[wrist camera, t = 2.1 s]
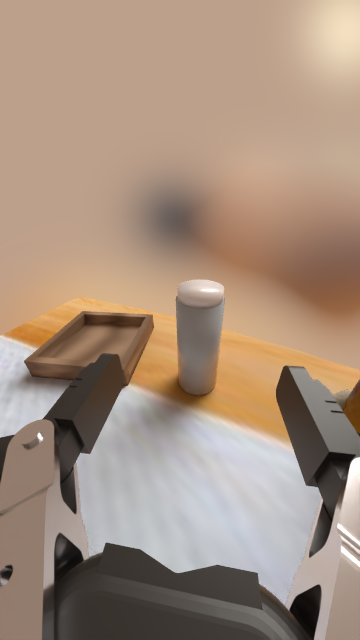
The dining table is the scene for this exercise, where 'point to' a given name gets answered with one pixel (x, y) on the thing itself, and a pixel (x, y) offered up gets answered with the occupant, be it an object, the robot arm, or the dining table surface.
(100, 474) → the dining table surface
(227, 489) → the dining table surface
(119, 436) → the dining table surface
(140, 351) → the tray
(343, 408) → the condiment
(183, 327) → the salt shaker
